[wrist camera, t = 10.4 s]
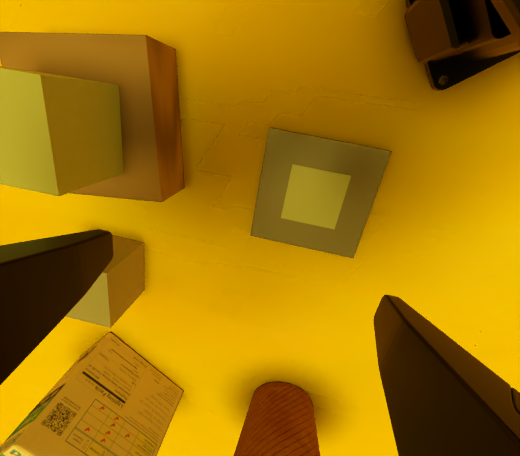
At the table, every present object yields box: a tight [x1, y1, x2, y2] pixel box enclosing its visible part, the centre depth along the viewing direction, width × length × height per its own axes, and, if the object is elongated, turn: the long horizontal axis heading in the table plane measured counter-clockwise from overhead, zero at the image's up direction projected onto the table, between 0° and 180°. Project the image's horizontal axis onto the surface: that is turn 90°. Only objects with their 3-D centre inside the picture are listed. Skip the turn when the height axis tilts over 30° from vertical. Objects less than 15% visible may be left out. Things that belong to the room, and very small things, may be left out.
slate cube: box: [66, 230, 144, 328], centre depth 23 cm, size 5×5×5 cm
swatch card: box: [250, 128, 392, 258], centre depth 20 cm, size 8×8×1 cm
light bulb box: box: [0, 332, 183, 456], centre depth 26 cm, size 11×7×11 cm, turn 44°
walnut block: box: [0, 32, 184, 202], centre depth 18 cm, size 9×9×4 cm
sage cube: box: [0, 66, 124, 196], centre depth 14 cm, size 5×5×5 cm
